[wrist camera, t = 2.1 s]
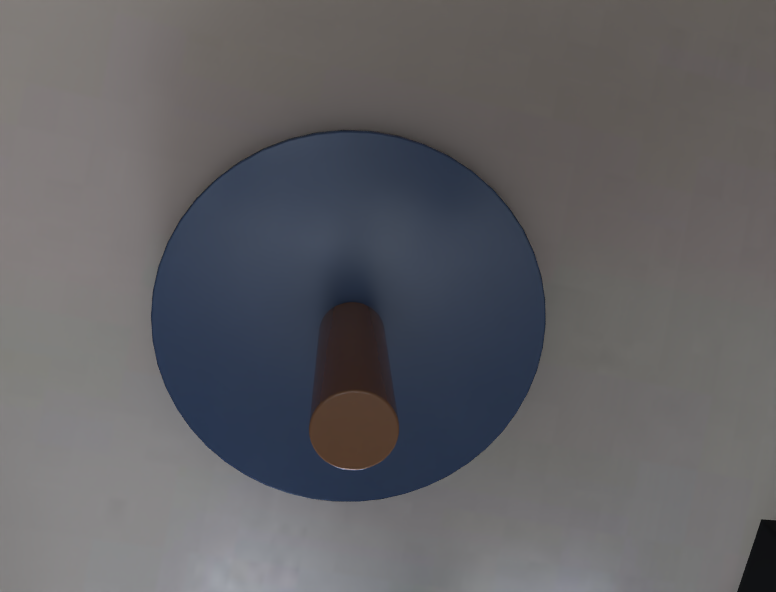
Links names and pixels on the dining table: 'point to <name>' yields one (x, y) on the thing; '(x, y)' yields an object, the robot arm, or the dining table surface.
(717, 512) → the dining table surface
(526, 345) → the pot lid
